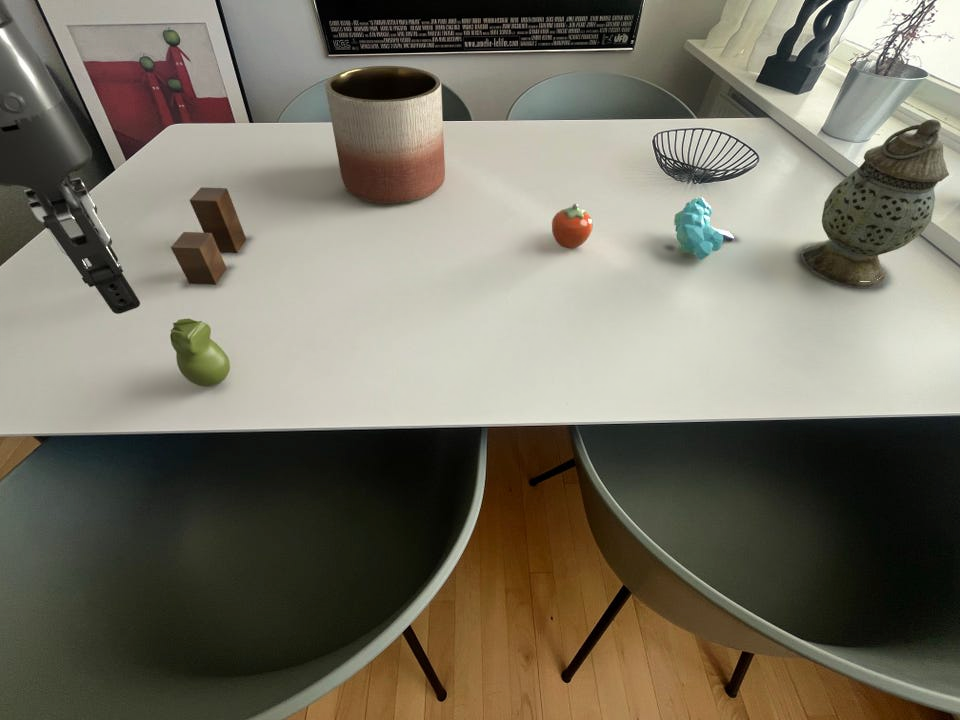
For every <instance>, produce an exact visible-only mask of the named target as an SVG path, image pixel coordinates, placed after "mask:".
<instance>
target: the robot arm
mask: <svg viewBox="0 0 960 720" xmlns="http://www.w3.org/2000/svg"><path fill="white" fill-rule="evenodd" d="M92 157H93V150H92V147H91V145H90V144H89V142H88V140H87V138H86V136H85V135H84V133H83V131H82V129H81V128H80V126H79V124H78V122H77V120H76V118H75V117H74V114H73V113H72V111H71V109H70V108H69V106H68V104H67V103H66V101H65V99H64V97H63V95H62V93H61V92H60V90H59V88H58V86H57V84H56V82H55V81H54V79H53V77H52V75H51V74H50V72H49V70H48V68H47V66H46V65H45V62H44V61H43V59H42V58H41V56H40V54H39V53H38V52H37V50H36V48H35V47H34V46H33V44H32V43H31V42H30V40H29V38H28V37H27V35H26V34H25V33H24V32H23V30H22V29H21V27H20V26H19V24H18V22H17V21H16V19H15V18H14V16H13V14H12V12H11V10H10V9H9V6H8V5H7V3H6V1H5V0H0V187H12V186H16V187H17V186H18V187H25V188H28V189H24V190H23V193H24V194H25V196H26V197H27V199H28V201H29V202H27V205H28V206H29V208H30V210H31V212H32V213H33V215H34V217H35V218H36V219H37V220H38V222H40V223H41V224H43V225H44V227H45V228H46V229H47V230H48V232H49V234H50V235H51V237H52V239H53V240H54V241H55V243H56V245H57V247H58V248H59V250H60V252H61V253H62V254H64V255H65V256H67V257H68V258H69V259H70V261H71V262H72V264H73V266H74V267H75V268H76V270H77V271H78V272H79V274H80V275H81V280H82V281H83V283H84V284H85V285H88V287H89V288H92V287H95V288H96V290H97V291H98V293H99V294H100V296H101V298H102V299H103V300H104V302H105V303H106V305H107V306H108V307H109V309H110V310H111V312H112V313H113V314H117V315H120V314H123V313H126V312H129V311H132V310H135V309H137V308H139V307H140V306H141V301H140V300H139V297H138V296H137V294H136V292H135V291H134V290H133V288H132V287H131V285H130V283H129V282H128V280H127V278H126V277H125V275H124V274H123V272H124V270H123V266H122V265H121V263H120V261H119V258H118V255H117V254H116V253H115V251H114V250H113V248H112V244H113V240H112V238H111V236H110V234H109V232H108V231H107V229H106V227H105V225H104V224H103V222H102V221H101V219H100V217H99V216H98V207H97V205H96V204H95V202H94V201H93V198H92V197H91V194H90V192H89V190H88V189H87V187H86V184H85V183H84V182H83V180H82V179H81V177H79V176H78V177H75V178H72V177H71V175H70V174H71V173H73V172H78V171H80V170H81V169H83V168H84V167H85V166H87V165H88V164H89V163H90V161H91V160H92ZM86 259H87V260H88V262H89V263H90V265H88V263H87V261H86Z"/></svg>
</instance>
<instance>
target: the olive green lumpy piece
mask: <svg viewBox="0 0 960 720" xmlns="http://www.w3.org/2000/svg"><path fill="white" fill-rule="evenodd" d="M172 324H173V325H172V329H170V335H169V336H170V337H169V338H170V343H171V346H172V348H173V349H174V351H175V354H176V355H175V356H176V357H175V359H176V363H177V367H178V369H179V371H180V373H181V374H182V376H183V377H185V379H186V380H187V381H188V382H190V383H191V384H193V385H196V386H199V387H204V388H207V387H214V386H217V385H219V384H221V383H222V382H223V381H225V379H226V378H227V377H228V375H229V373H230V369H231V363H230V359H229V356H227V354H226V352H225V351H224V350H223V349H222V347H221V346H220V345H219V344H218V343H217V342H216V341H214V340H213V339H211V335H212V329H211V326H210V325H209V324H208V323H206V322H204V321H202V320H200V321H199V320H195V319H192V318H181V319H178V320H177V321H176V322H173V323H172Z"/></svg>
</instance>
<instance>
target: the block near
mask: <svg viewBox="0 0 960 720" xmlns="http://www.w3.org/2000/svg"><path fill="white" fill-rule="evenodd" d="M170 250H171V251H172V253H173V255H174V256H175V259H176V261H177V263H178V265H179V266H180V269H181V270H182V272H183V274H184V276H185V278H186V281H187V283H188V284H189V285H211V286H214V285H216V286H217V285H218V283H219V282H220V280H221V279H222V277H223V275H224V274H225V273H226V271H227V270H228V268H227V265H226V263H225V261H224V258H223V256H222V254H221V253H220V251H219V249H218V247H217V245H216V242H215V240H214V238H213V235H212V233H204V232H200V231H199V232H197V231H183V232H182V233H181V235H180V236H179V237H178V238H177V239H176V240H175V242H174V243H173V244H172V245H171V246H170Z"/></svg>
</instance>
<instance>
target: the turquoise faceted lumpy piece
mask: <svg viewBox="0 0 960 720" xmlns="http://www.w3.org/2000/svg"><path fill="white" fill-rule="evenodd" d="M711 215H712V207H711V206H710V205H709V204H708V203H707V202H706V200H705V199H704V198H703V197H701V196H699V197H696V198H692V199H691V201H688V202H686V203H685V206H684V207H683V209H682V210H681V211H679V212H677V213H675V214H674V219H673V224H674V226H675V230H674V231H675V232H676V234H675V236H676V238H675V239H676V240H677V242H678V243H679V246H680V247H679V248H680V251H682V252H683V253H685V254H689V255H692V254H694V255H695V256H696V257H697V259H698V260H700V261H702V260H704V259H705V258H707V257H709V256H710V255H711V254H712V252H717V251H719V250H720V249H721V247H722V245H723V243H724V238H725V239H729V240H735V237H734V236H733V234H732V233H731V232H730V231H727V230H723V229H718V228H715V227H713V226H712V225H710V222H711V221H710V217H711Z"/></svg>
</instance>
